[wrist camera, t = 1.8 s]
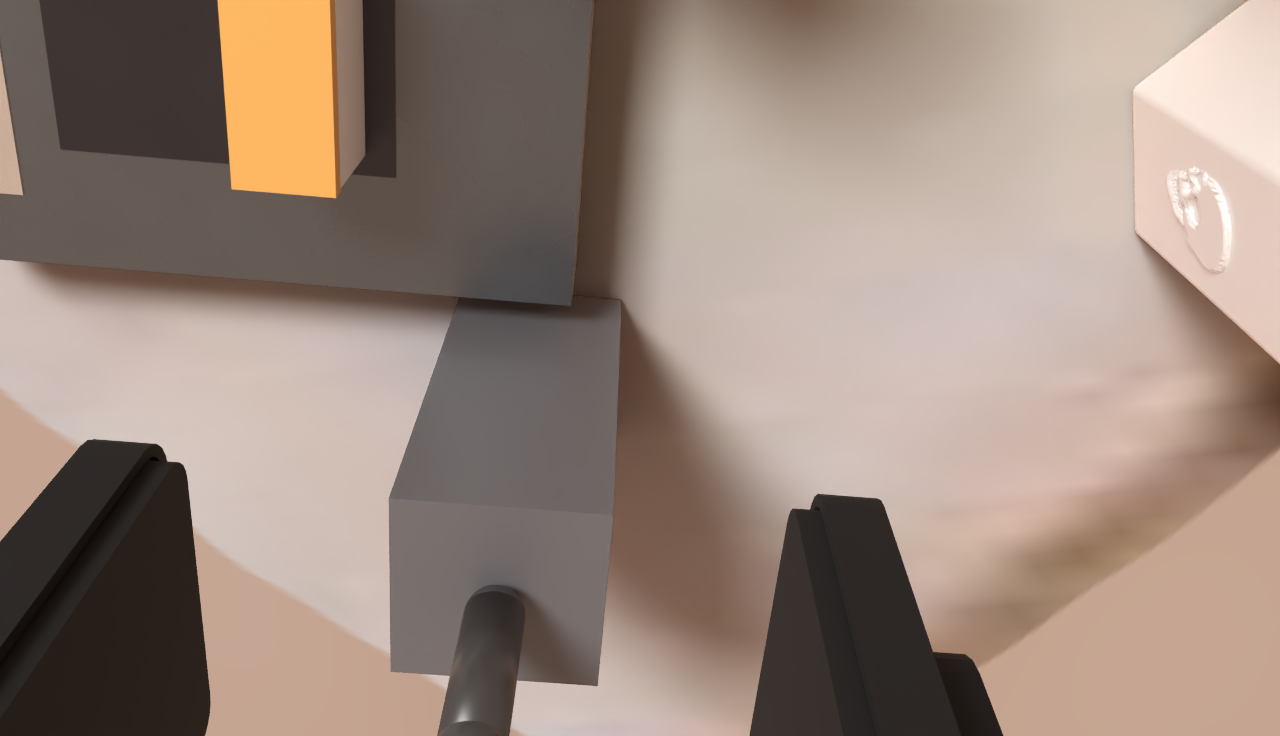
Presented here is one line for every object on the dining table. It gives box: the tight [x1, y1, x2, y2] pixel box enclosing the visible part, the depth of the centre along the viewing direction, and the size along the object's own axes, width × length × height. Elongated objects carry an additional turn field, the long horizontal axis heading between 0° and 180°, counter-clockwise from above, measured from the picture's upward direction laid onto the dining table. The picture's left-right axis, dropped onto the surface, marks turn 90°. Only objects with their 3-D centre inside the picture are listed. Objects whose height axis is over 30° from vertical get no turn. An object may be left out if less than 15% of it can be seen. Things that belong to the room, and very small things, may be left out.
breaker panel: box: [0, 0, 595, 306], centre depth 31 cm, size 14×18×3 cm
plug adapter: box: [389, 296, 622, 736], centre depth 30 cm, size 5×5×17 cm
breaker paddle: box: [218, 0, 365, 198], centre depth 28 cm, size 6×2×4 cm, turn 175°
